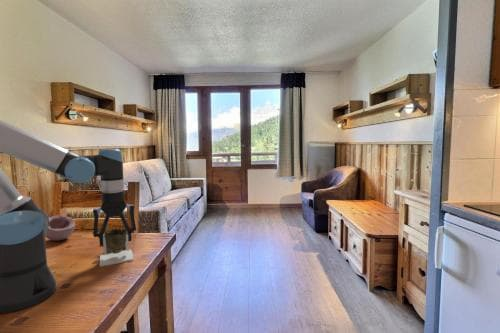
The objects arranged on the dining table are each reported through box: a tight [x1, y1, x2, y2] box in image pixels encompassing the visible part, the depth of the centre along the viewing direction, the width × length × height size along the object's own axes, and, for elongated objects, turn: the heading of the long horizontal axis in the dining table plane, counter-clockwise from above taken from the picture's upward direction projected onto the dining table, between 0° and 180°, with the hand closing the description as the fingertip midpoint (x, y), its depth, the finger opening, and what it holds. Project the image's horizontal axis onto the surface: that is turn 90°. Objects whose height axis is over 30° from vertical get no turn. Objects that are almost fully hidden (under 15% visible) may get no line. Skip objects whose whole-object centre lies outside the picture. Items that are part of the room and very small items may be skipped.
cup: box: [103, 228, 127, 254], centre depth 101 cm, size 8×7×8 cm
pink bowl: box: [45, 214, 76, 242], centre depth 121 cm, size 12×12×11 cm
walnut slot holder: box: [106, 243, 126, 254], centre depth 114 cm, size 7×14×4 cm, turn 28°
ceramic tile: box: [99, 248, 135, 267], centre depth 101 cm, size 10×11×1 cm
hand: (116, 251), depth 101 cm, fingers closed on cup, 7 cm apart
